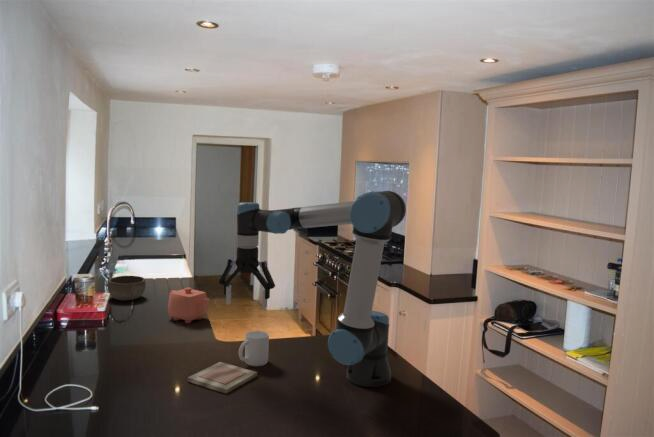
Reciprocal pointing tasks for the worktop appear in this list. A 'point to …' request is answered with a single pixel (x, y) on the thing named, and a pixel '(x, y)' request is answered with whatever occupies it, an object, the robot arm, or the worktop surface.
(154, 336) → the worktop surface
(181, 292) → the teapot
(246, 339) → the mug
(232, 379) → the board
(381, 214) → the robot arm
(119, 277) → the bowl
